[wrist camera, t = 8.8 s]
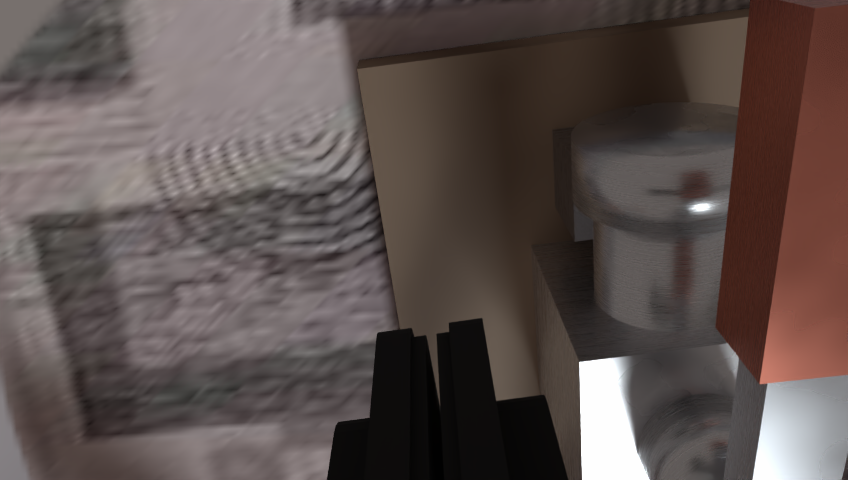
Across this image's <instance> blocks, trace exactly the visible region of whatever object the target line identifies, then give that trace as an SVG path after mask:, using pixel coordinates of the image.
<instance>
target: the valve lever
mask: <svg viewBox="0 0 848 480" xmlns="http://www.w3.org/2000/svg"><path fill="white" fill-rule="evenodd" d="M715 328H716V329H717V330H718V332H719V333H720V334H721V335H722V337H723V338H724V339H725V341H726V342H727V343H728V344H729V346H730V347H731V348H732V350H733V351H734V352H735V353H736V355H737V356H738V357H739V361H738V369H737V376H736V384H735V392H734V400H733V408H732V415H731V423H730V431H729V439H728V447H727V454H726V462H725V470H724V478H723V480H842V476H843V472H844V467H845V463H846V459H847V454H848V0H750V8H749V17H748V26H747V36H746V45H745V54H744V64H743V73H742V82H741V92H740V101H739V110H738V120H737V129H736V138H735V148H734V157H733V166H732V176H731V185H730V195H729V204H728V213H727V223H726V232H725V241H724V251H723V260H722V269H721V279H720V288H719V297H718V307H717V316H716V325H715Z"/></svg>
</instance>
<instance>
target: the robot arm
mask: <svg viewBox="0 0 848 480" xmlns="http://www.w3.org/2000/svg"><path fill="white" fill-rule="evenodd" d="M436 336H437V356H438V374H439V393H440V404H439V399H438V393H437V388H436V383H435V377H434V372H433V367H432V361H431V356H430V351H429V345H428V340H427V336H426V335H423V336H416V337H414V333H413V330H412V328H407V329H400V330H393V331H386V332H379V333H377V338H376V350H375V362H374V373H373V385H372V396H371V408H370V418H365V419H357V420H350V421H343V422H338V423H337V425H336V427H335V431H334V437H333V444H332V450H331V457H330V463H329V470H328V476H327V480H568V477H567V473H566V469H565V465H564V462H563V458H562V454H561V451H560V447H559V443H558V440H557V436H556V432H555V429H554V425H553V421H552V417H551V414H550V410H549V406H548V403H547V400H546V397H545V395H536V396H529V397H522V398H514V399H507V400H499V401H496V396H495V390H494V384H493V379H492V373H491V367H490V361H489V355H488V349H487V343H486V337H485V331H484V325H483V319H482V318H478V319H471V320H464V321H456V322H449V332H444V333H437V334H436Z"/></svg>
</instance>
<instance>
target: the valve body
mask: <svg viewBox="0 0 848 480" xmlns="http://www.w3.org/2000/svg"><path fill="white" fill-rule="evenodd" d="M738 110H739V108H738V107H733V106H727V105H720V104H711V103H695V102H669V103H652V104H643V105H635V106H628V107H623V108H618V109H614V110H610V111H606V112H603V113H599V114H597V115H594V116H592V117H589V118H587V119H585V120H583V121H582V122H580V123H579V124H578V125H576V126H575V127H567V128H560V129H552V139H553V163H554V187H555V207H556V209H557V211H558V212H559V214H560V216H561V218H562V220H563V221H564V223H565V225H566V227H567V229H568V230H569V232H570V234H571V236H572V238H573V239H574V240H570V241H562V242H554V243H546V244H539V245H531V256H532V273H533V289H534V306H535V323H536V339H537V356H538V373H539V389H540V393H541V395H545V397H546V400H547V403H548V406H549V410H550V414H551V417H552V421H553V425H554V429H555V432H556V436H557V440H558V443H559V447H560V451H561V454H562V458H563V462H564V465H565V469H566V473H567V477H568V480H723V478H724V470H725V462H726V454H727V447H728V439H729V431H730V423H731V415H732V408H733V400H734V392H735V384H736V376H737V369H738V361H739V357H738V356H737V355H736V353H735V352H734V351H733V350H732V348H731V347H730V346H729V344H728V343H727V342H726V341H725V339H724V338H723V337H722V335H721V334H720V333H719V332H718V330H717V329H716V328H715V325H716V316H717V307H718V297H719V288H720V279H721V269H722V260H723V251H724V241H725V232H726V223H727V213H728V204H729V195H730V185H731V176H732V166H733V157H734V148H735V138H736V129H737V120H738Z"/></svg>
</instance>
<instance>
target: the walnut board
mask: <svg viewBox="0 0 848 480" xmlns="http://www.w3.org/2000/svg"><path fill="white" fill-rule="evenodd" d="M748 17H749V8H746V9H739V10H731V11H724V12H717V13H709V14H702V15H694V16H687V17H679V18H672V19H664V20H657V21H649V22H642V23H634V24H627V25H620V26H612V27H605V28H597V29H590V30H582V31H575V32H567V33H560V34H552V35H545V36H537V37H530V38H523V39H515V40H508V41H500V42H493V43H485V44H478V45H470V46H463V47H455V48H448V49H441V50H433V51H426V52H418V53H411V54H403V55H396V56H388V57H381V58H373V59H366V60H359V62H358V67H357V72H358V78H359V84H360V90H361V97H362V103H363V109H364V115H365V121H366V127H367V133H368V139H369V145H370V151H371V157H372V163H373V169H374V175H375V181H376V187H377V193H378V199H379V205H380V211H381V217H382V223H383V229H384V235H385V242H386V248H387V254H388V260H389V266H390V272H391V278H392V284H393V290H394V296H395V302H396V308H397V314H398V320H399V326H400V329H407V328H412V330H413V333H414V337H416V336H423V335H426V336H427V340H428V345H429V351H430V356H431V361H432V367H433V372H434V377H435V383H436V388H437V393H438V399H439V404H440V393H439V374H438V356H437V336H436V334H437V333H444V332H449V322H456V321H464V320H471V319H478V318H482V319H483V325H484V331H485V337H486V343H487V349H488V355H489V361H490V367H491V373H492V379H493V384H494V390H495V396H496V401H499V400H507V399H514V398H522V397H529V396H536V395H541V393H540V389H539V373H538V356H537V339H536V323H535V306H534V289H533V273H532V256H531V245H539V244H546V243H554V242H562V241H570V240H574V239H573V238H572V236H571V234H570V232H569V230H568V229H567V227H566V225H565V223H564V221H563V220H562V218H561V216H560V214H559V212H558V211H557V209H556V207H555V187H554V163H553V139H552V129H560V128H567V127H575V126H576V125H578V124H579V123H580V122H582V121H583V120H585V119H587V118H589V117H592V116H594V115H597V114H599V113H603V112H606V111H610V110H614V109H618V108H623V107H628V106H635V105H643V104H652V103H669V102H695V103H711V104H720V105H727V106H733V107H738V108H739V101H740V92H741V82H742V73H743V64H744V54H745V45H746V36H747V26H748Z"/></svg>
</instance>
